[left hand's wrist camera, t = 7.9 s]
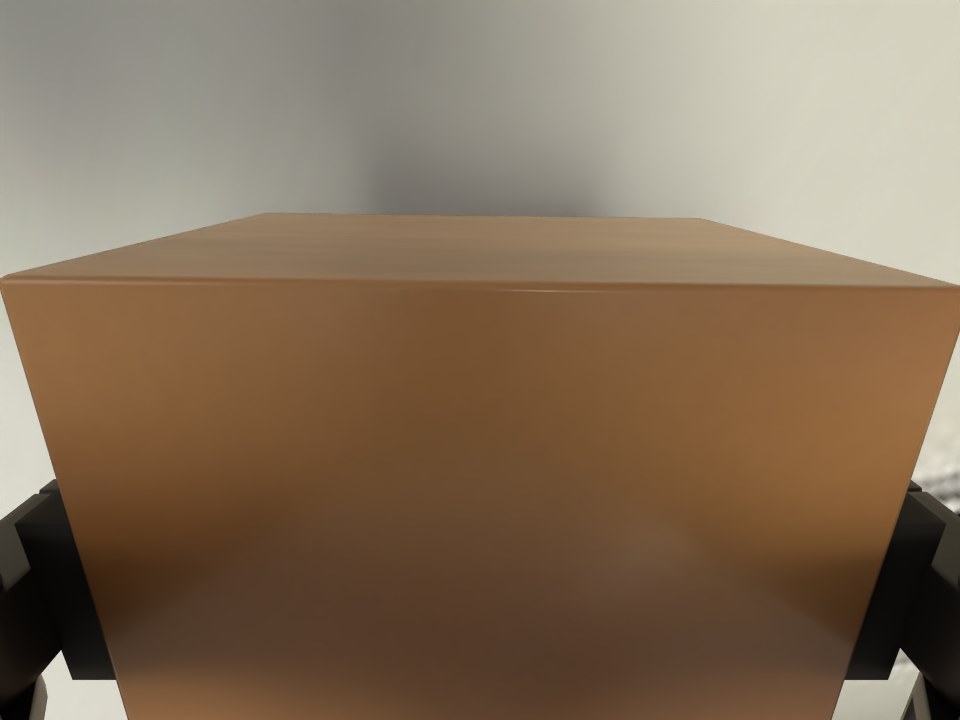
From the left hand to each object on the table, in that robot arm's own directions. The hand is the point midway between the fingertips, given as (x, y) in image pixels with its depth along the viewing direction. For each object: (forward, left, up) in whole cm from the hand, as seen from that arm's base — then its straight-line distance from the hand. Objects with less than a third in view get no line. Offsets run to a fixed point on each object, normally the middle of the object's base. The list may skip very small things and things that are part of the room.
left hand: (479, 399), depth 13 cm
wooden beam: (+23, -5, 0) cm, 23 cm away
